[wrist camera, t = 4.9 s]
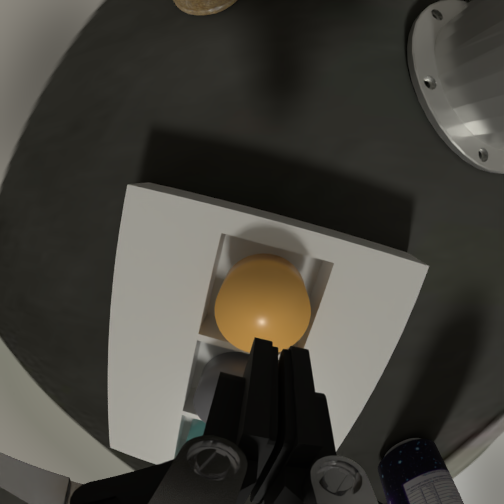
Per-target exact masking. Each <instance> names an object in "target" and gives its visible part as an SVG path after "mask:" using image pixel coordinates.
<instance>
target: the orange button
mask: <svg viewBox="0 0 504 504" xmlns="http://www.w3.org/2000/svg"><path fill="white" fill-rule="evenodd" d="M214 313H215V319H216V323H217V326H218V328H219V330H220V332H221V333H222V335H223V336H224V337H225V338H226V339H227V340H228V341H229V342H230V343H231V344H232V345H234V346H235V347H237V348H238V349H240V350H243V351H245V352H248V353H250V351H251V347H252V344H253V341H254V338H255V337H256V338H260V339H264V340H269V341H272V342H273V346H274V347H278V352H281V351H282V350H283V349H287V348H289V347H290V346H292V345H294V344H295V343H296V342H297V341H298V340H299V339H300V338H301V337H302V336H303V334H304V333H305V331H306V329H307V327H308V325H309V322H310V317H311V306H310V301H309V297H308V294H307V291H306V287H305V284H304V281H303V278H302V276H301V274H300V273H299V271H298V270H297V268H296V267H295V266H294V265H293V264H292V263H290V262H289V261H288V260H286V259H284V258H282V257H280V256H277V255H273V254H265V253H262V254H254V255H250V256H247V257H245V258H243V259H241V260H240V261H238V262H237V263H236V264H235V265H233V267H232V268H231V269H230V270H229V272H228V273H227V275H226V277H225V279H224V281H223V284H222V286H221V288H220V291H219V293H218V295H217V298H216V301H215V312H214Z"/></svg>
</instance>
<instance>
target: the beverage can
mask: <svg viewBox="0 0 504 504" xmlns="http://www.w3.org/2000/svg"><path fill="white" fill-rule="evenodd" d="M378 472H379V476H380V479H381V482H382V486H383V489H384V493H385V496H386V500H387V504H464V503H463V501H462V499H461V497H460V494H459V492H458V490H457V488H456V486H455V484H454V481H453V479H452V477H451V475H450V473H449V471H448V469H447V467H446V465H445V463H444V461H443V459H442V457H441V455H440V453H439V451H438V449H437V447H436V445H435V443H434V442H433V441H432V440H430V439H421V438H411V439H407V440H404V441H402V442H400V443H398V444H396V445H395V446H393V447H392V448H391V449H390V450H389V451H388V452H387V453H386V454H385V456H384V458H383V459H382V460H381V462H380V464H379V466H378Z"/></svg>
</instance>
